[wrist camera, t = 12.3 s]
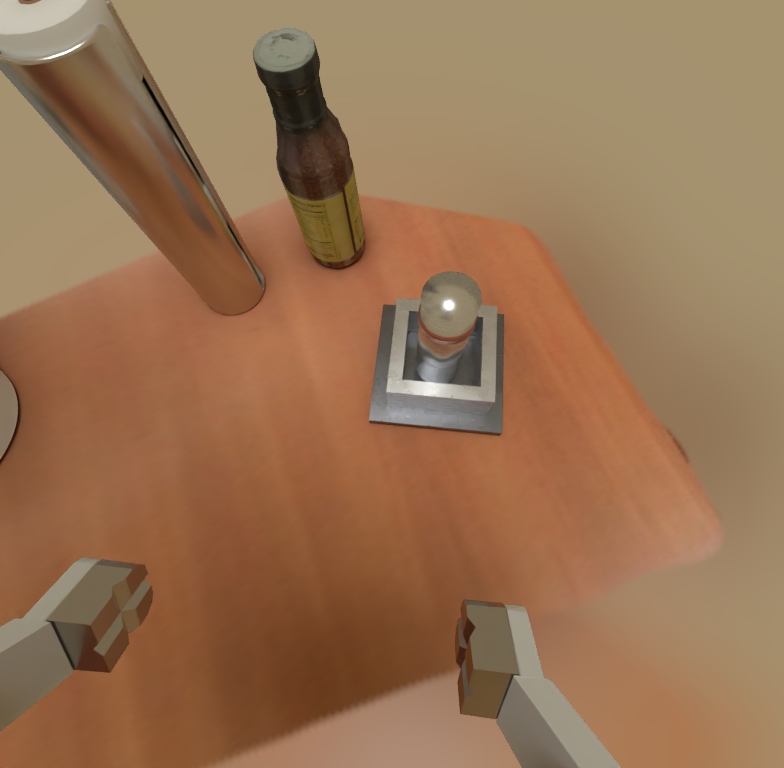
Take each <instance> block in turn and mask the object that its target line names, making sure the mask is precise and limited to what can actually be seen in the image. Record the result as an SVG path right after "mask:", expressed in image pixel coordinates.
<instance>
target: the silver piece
mask: <svg viewBox="0 0 784 768" xmlns="http://www.w3.org/2000/svg"><path fill="white" fill-rule="evenodd" d="M0 51H1V52H2V53H1V52H0V70H1V71H2V72H3V73H4V74H5V76H6V77H7V78H8V79H9V80H10V81H11V83H12V84H13V85H14V86H15V87H16V88H17V89H18V90H19V92H21V94H22V95H23V96H24V97H25V98H26V99H27V101H28V102H29V103H30V104H31V105H32V106H33V107H34V109H35V110H36V111H37V112H38V113H39V114H40V115H41V116H42V118H43V119H44V120H45V121H46V122H47V123H48V124H49V126H50V127H51V128H52V129H53V130H54V131H55V132H56V133H57V135H58V136H59V137H60V138H61V139H62V140H63V141H64V143H65V144H66V145H67V146H68V147H69V148H70V149H71V150H72V152H73V153H74V154H75V155H76V156H77V157H78V158H79V159H80V161H81V162H82V163H83V164H84V165H85V166H86V167H87V169H88V170H89V171H90V172H91V173H92V174H93V175H94V177H96V179H97V180H98V181H99V182H100V183H101V184H102V185H103V187H104V188H105V189H106V190H107V191H108V192H109V194H110V195H111V196H112V197H113V198H114V199H115V200H116V201H117V203H118V204H119V205H120V206H121V207H122V208H123V209H124V210H125V211H126V213H127V214H128V215H129V216H130V217H131V218H132V220H133V221H134V222H135V223H136V224H137V225H138V226H139V227H140V229H141V230H142V231H143V232H144V233H145V234H146V235H147V237H148V238H149V239H150V240H151V241H152V242H153V243H154V244H155V246H156V247H157V248H158V249H159V250H160V251H161V252H162V254H163V255H164V256H165V257H166V258H167V259H168V260H169V261H170V263H171V264H172V265H173V266H174V267H175V268H176V269H177V271H178V272H179V273H180V274H181V275H182V276H183V277H184V278H185V280H186V281H187V282H188V283H189V284H190V285H191V286H192V288H193V289H194V290H195V291H196V292H197V293H198V294H199V295H200V297H201V298H202V299H203V300H204V301H205V302H206V303H207V305H208V306H209V307H210V308H211V309H212V310H214V311H216V312H217V313H220V314H224V315H236V314H241V313H244V312H246V311H248V310H250V309H251V308H253V307H254V306H255V305H256V304H257V303H258V302H259V301H260V299H261V298H262V295H263V293H264V289H265V281H264V277H263V275H262V273H261V271H260V269H259V267H258V266H257V264H256V262H255V260H254V258H253V257H252V255H251V253H250V251H249V249H248V248H247V246H246V244H245V242H244V240H243V238H242V237H241V235H240V233H239V231H238V229H237V228H236V226H235V224H234V222H233V220H232V219H231V217H230V215H229V213H228V211H227V210H226V208H225V206H224V204H223V202H222V201H221V199H220V197H219V195H218V193H217V192H216V190H215V188H214V186H213V184H212V183H211V181H210V179H209V177H208V175H207V174H206V172H205V170H204V168H203V166H202V165H201V163H200V161H199V159H198V158H197V156H196V154H195V152H194V150H193V148H192V147H191V145H190V143H189V141H188V139H187V138H186V136H185V134H184V132H183V130H182V129H181V127H180V125H179V123H178V121H177V120H176V118H175V116H174V114H173V112H172V111H171V109H170V107H169V105H168V103H167V101H166V100H165V98H164V96H163V94H162V92H161V91H160V89H159V87H158V85H157V84H156V82H155V80H154V78H153V76H152V74H151V73H150V71H149V69H148V67H147V65H146V64H145V62H144V60H143V58H142V56H141V55H140V53H139V51H138V49H137V47H136V46H135V44H134V42H133V41H132V38H131V37H130V35H129V33H128V31H127V29H126V28H125V26H124V24H123V22H122V20H121V19H120V17H119V15H118V13H117V11H116V10H115V8H114V6H113V4H112V2H111V1H110V0H0Z"/></svg>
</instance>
